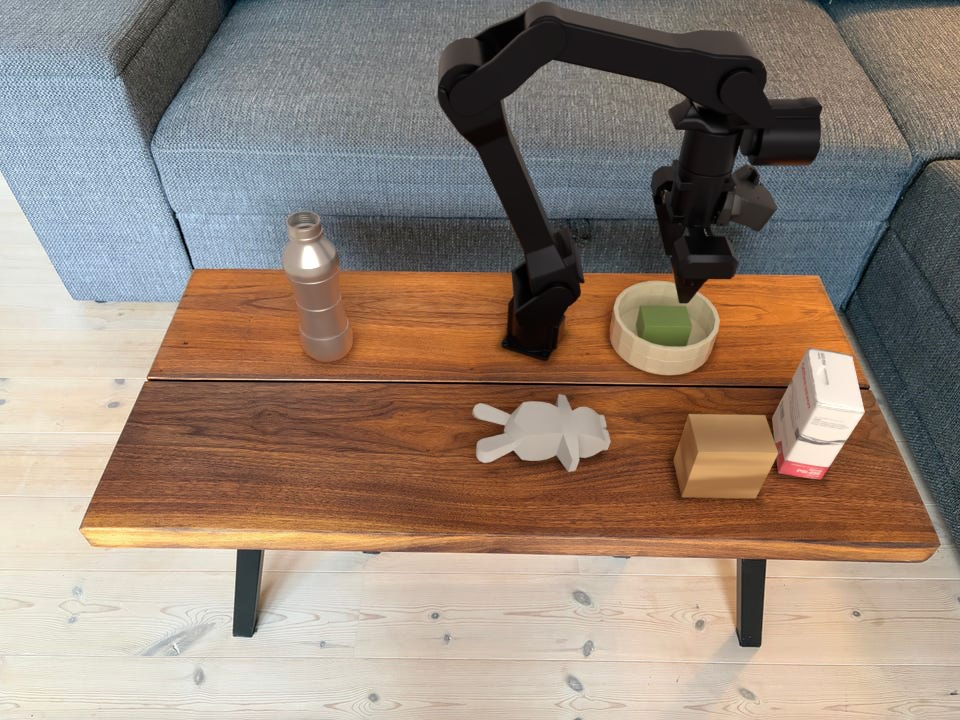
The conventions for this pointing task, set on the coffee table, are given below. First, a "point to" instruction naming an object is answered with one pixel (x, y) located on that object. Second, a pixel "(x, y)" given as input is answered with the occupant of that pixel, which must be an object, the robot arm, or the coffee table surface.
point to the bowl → (655, 355)
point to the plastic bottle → (316, 288)
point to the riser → (724, 456)
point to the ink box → (816, 413)
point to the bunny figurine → (544, 432)
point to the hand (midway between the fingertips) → (676, 277)
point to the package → (664, 325)
